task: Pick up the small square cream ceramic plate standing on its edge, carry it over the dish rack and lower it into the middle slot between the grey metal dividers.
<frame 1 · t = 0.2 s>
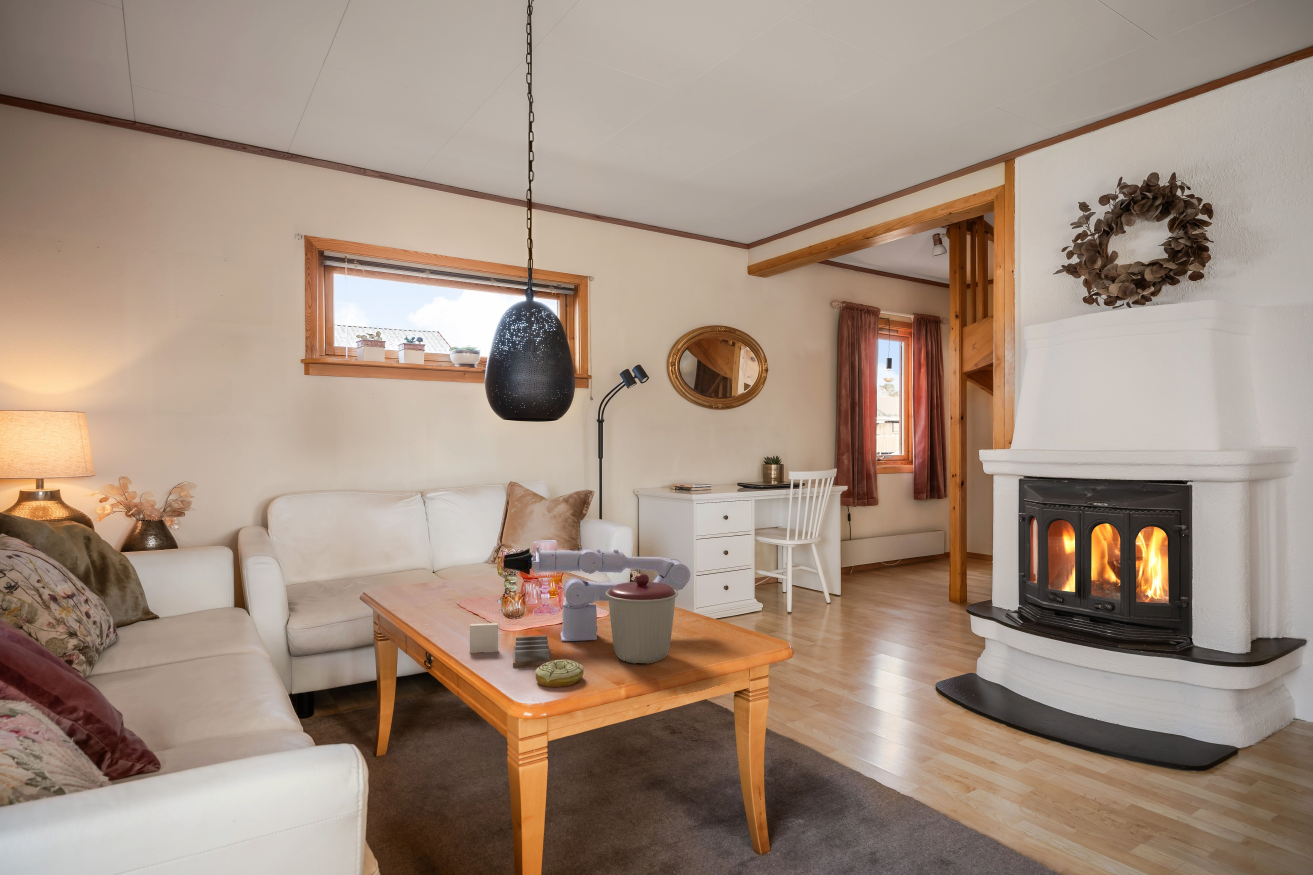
hand: (503, 561, 193), 21 cm above the table, tool horizontal, fingers open, 7 cm apart
decorated donut: (559, 681, 162), on the table
canister: (641, 658, 179), on the table
dish rack: (531, 657, 179), on the table
cream plate: (484, 651, 183), on the table
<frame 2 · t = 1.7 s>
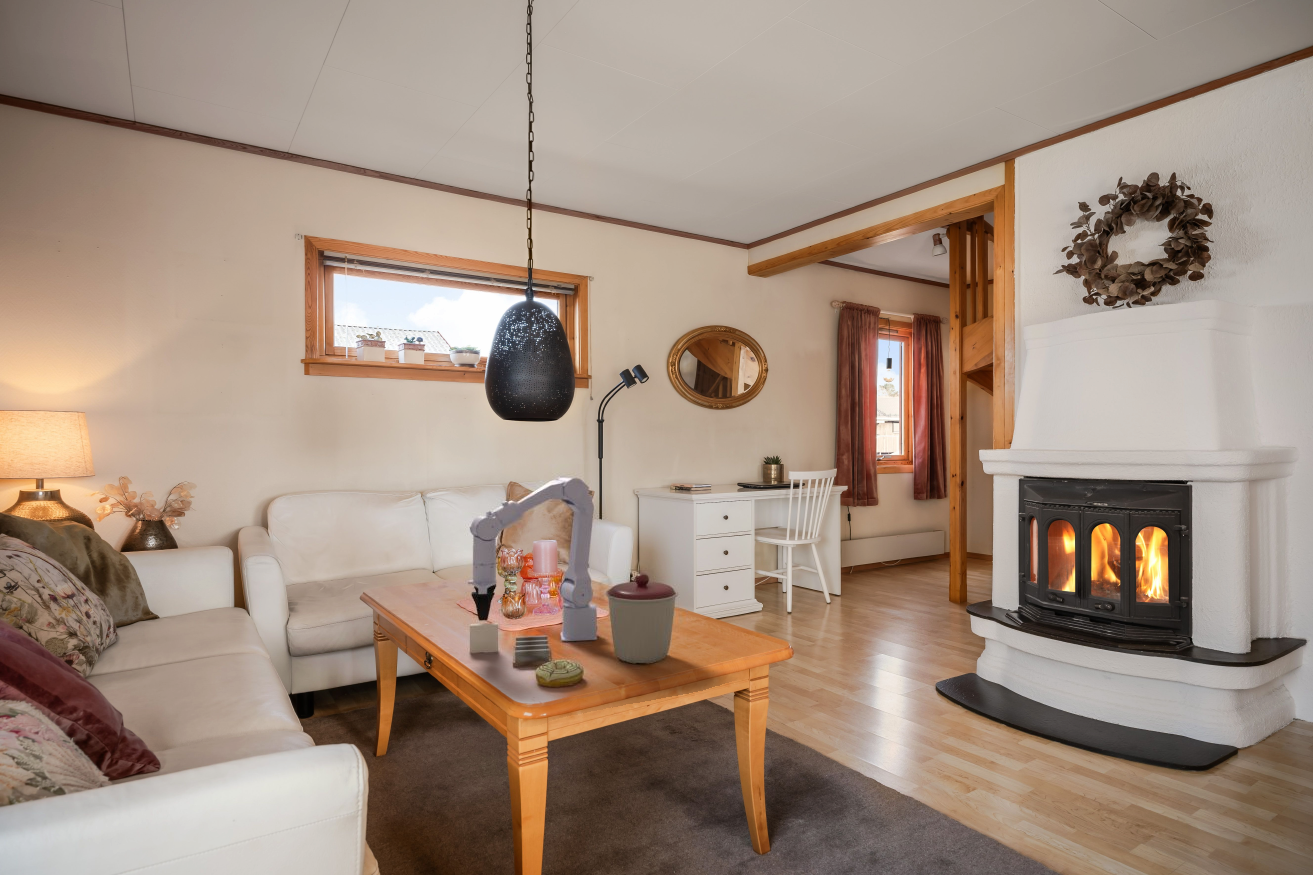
hand: (484, 616, 183), 9 cm above the table, tool pointing down, fingers open, 7 cm apart
nothing on the table moved.
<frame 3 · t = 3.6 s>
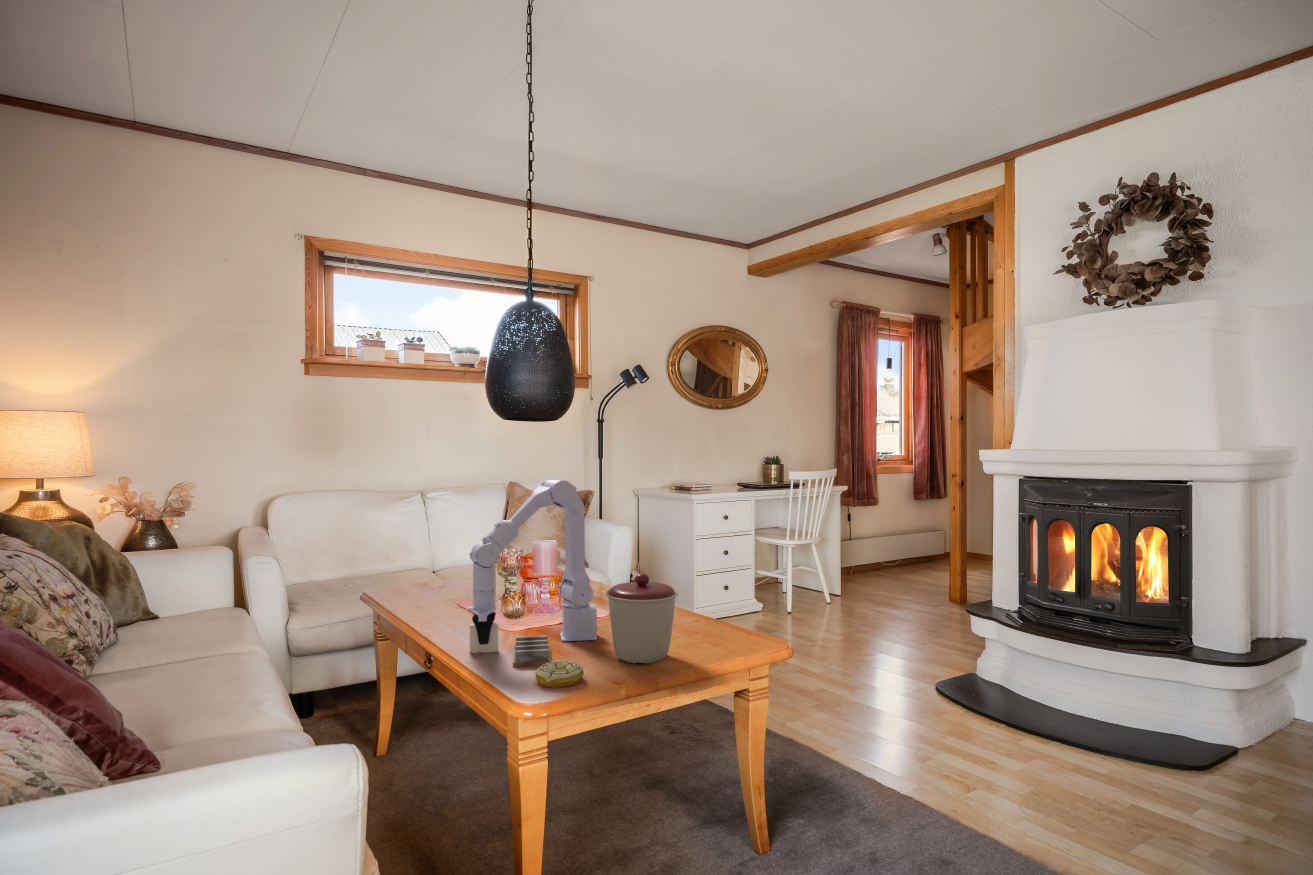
hand: (484, 642, 183), 2 cm above the table, tool pointing down, fingers closed on cream plate, 2 cm apart
cream plate: (484, 651, 183), on the table, touching gripper
everything else where it was.
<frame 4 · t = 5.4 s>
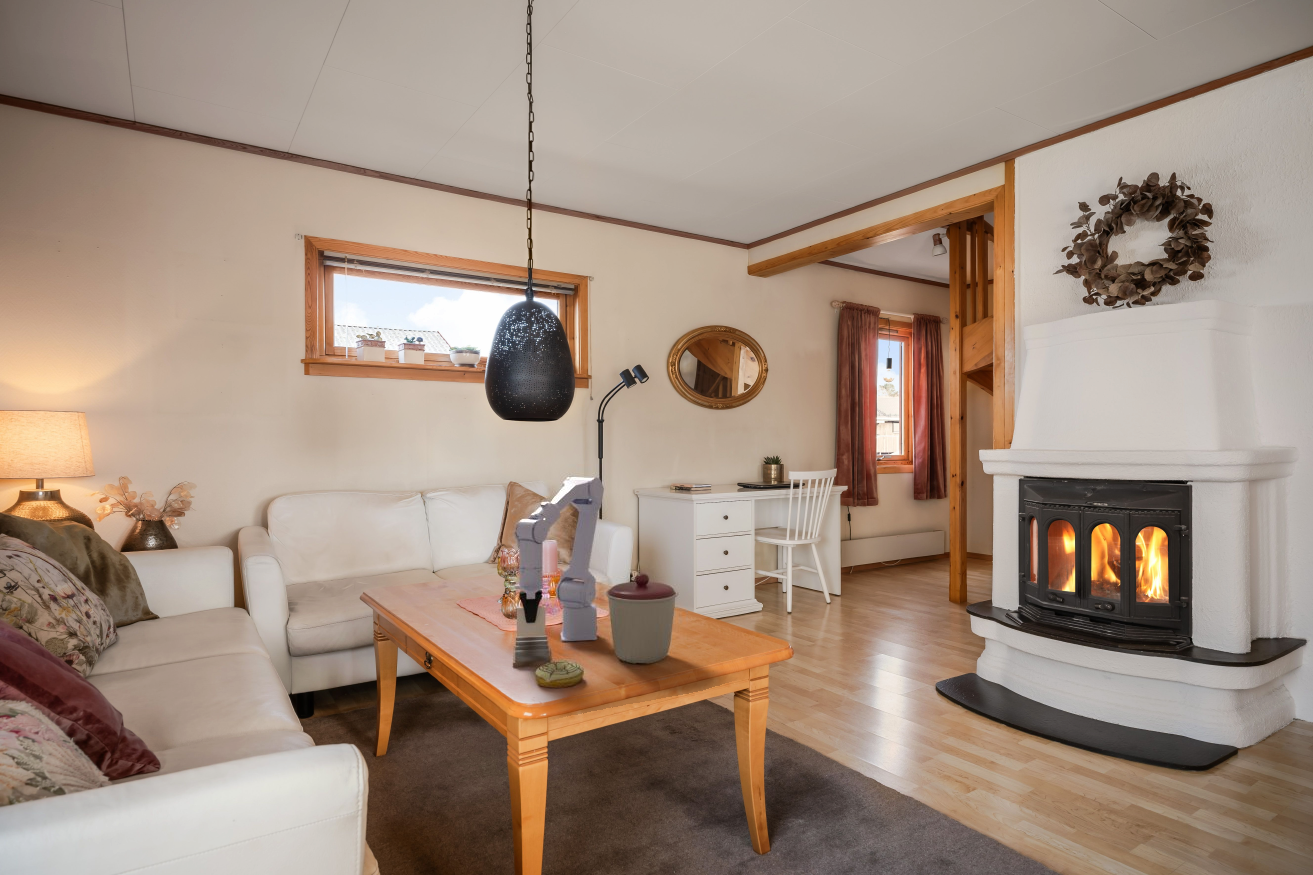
hand: (530, 621, 179), 9 cm above the table, tool pointing down, fingers closed on cream plate
cream plate: (530, 634, 179), point 6 cm above the table, touching gripper
everything else where it was.
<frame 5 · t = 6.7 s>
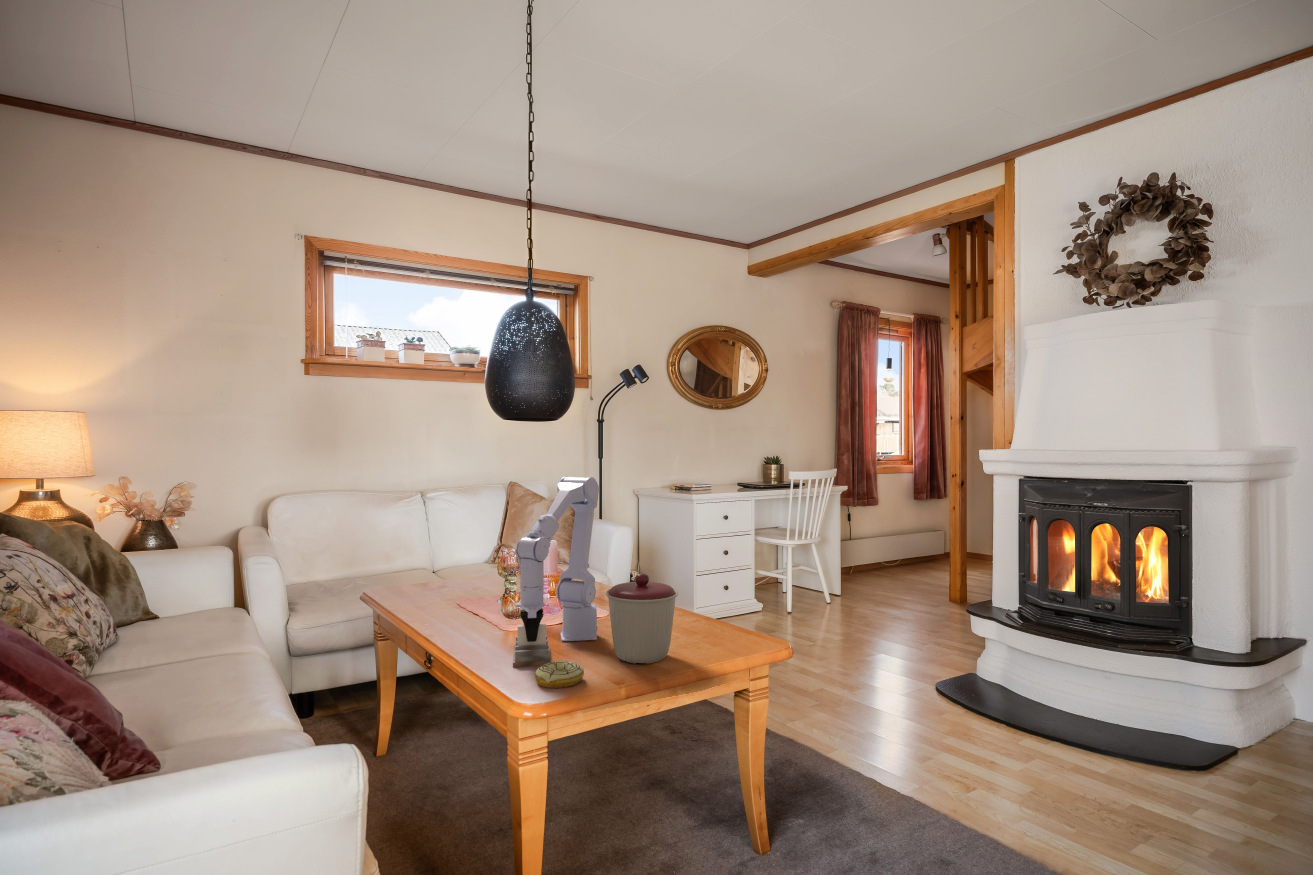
hand: (531, 639, 179), 4 cm above the table, tool pointing down, fingers closed on cream plate, 2 cm apart
cream plate: (531, 653, 179), point 1 cm above the table, touching dish rack, gripper
everything else where it was.
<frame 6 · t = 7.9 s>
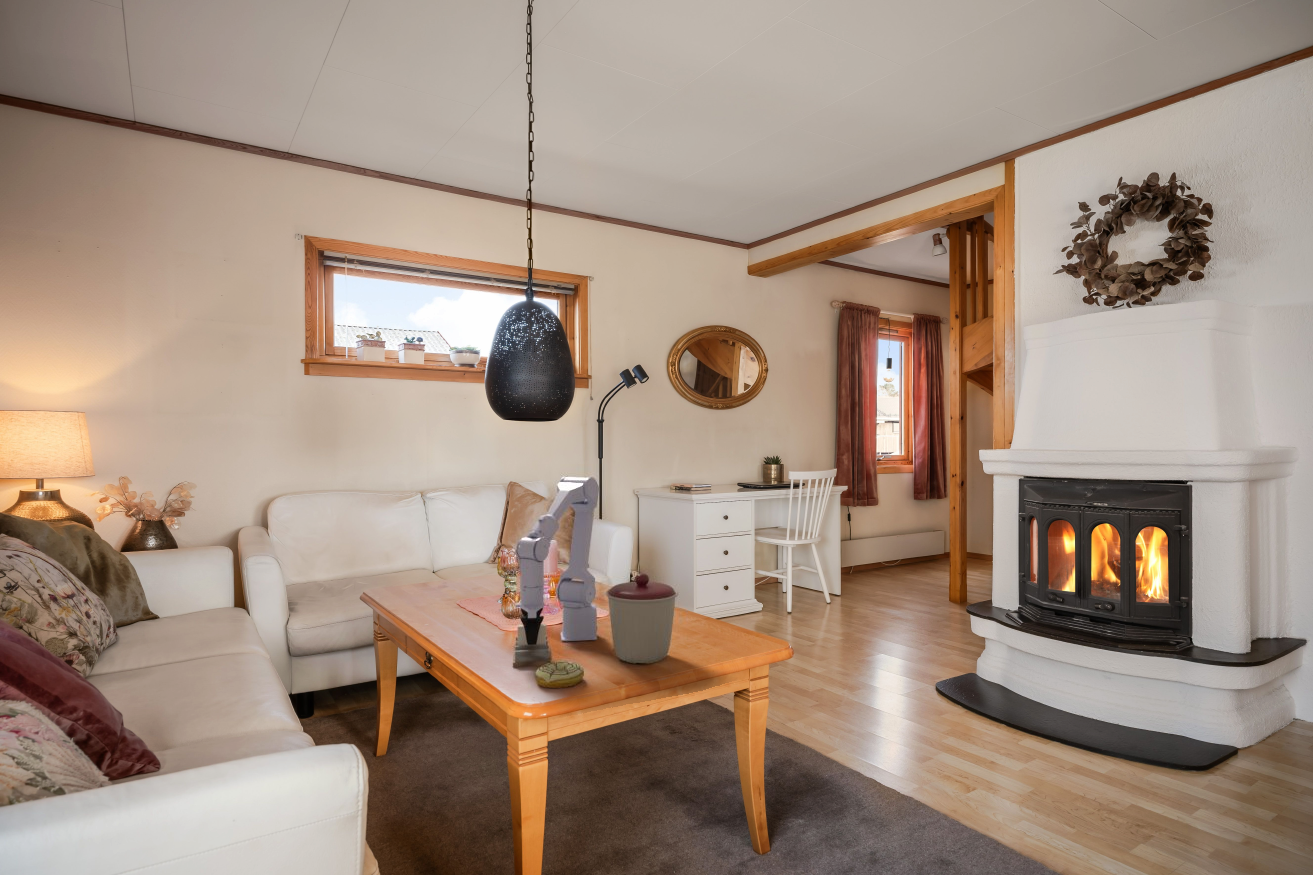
hand: (531, 639, 179), 4 cm above the table, tool pointing down, fingers open, 7 cm apart
cream plate: (531, 653, 179), point 1 cm above the table, touching dish rack
everything else where it was.
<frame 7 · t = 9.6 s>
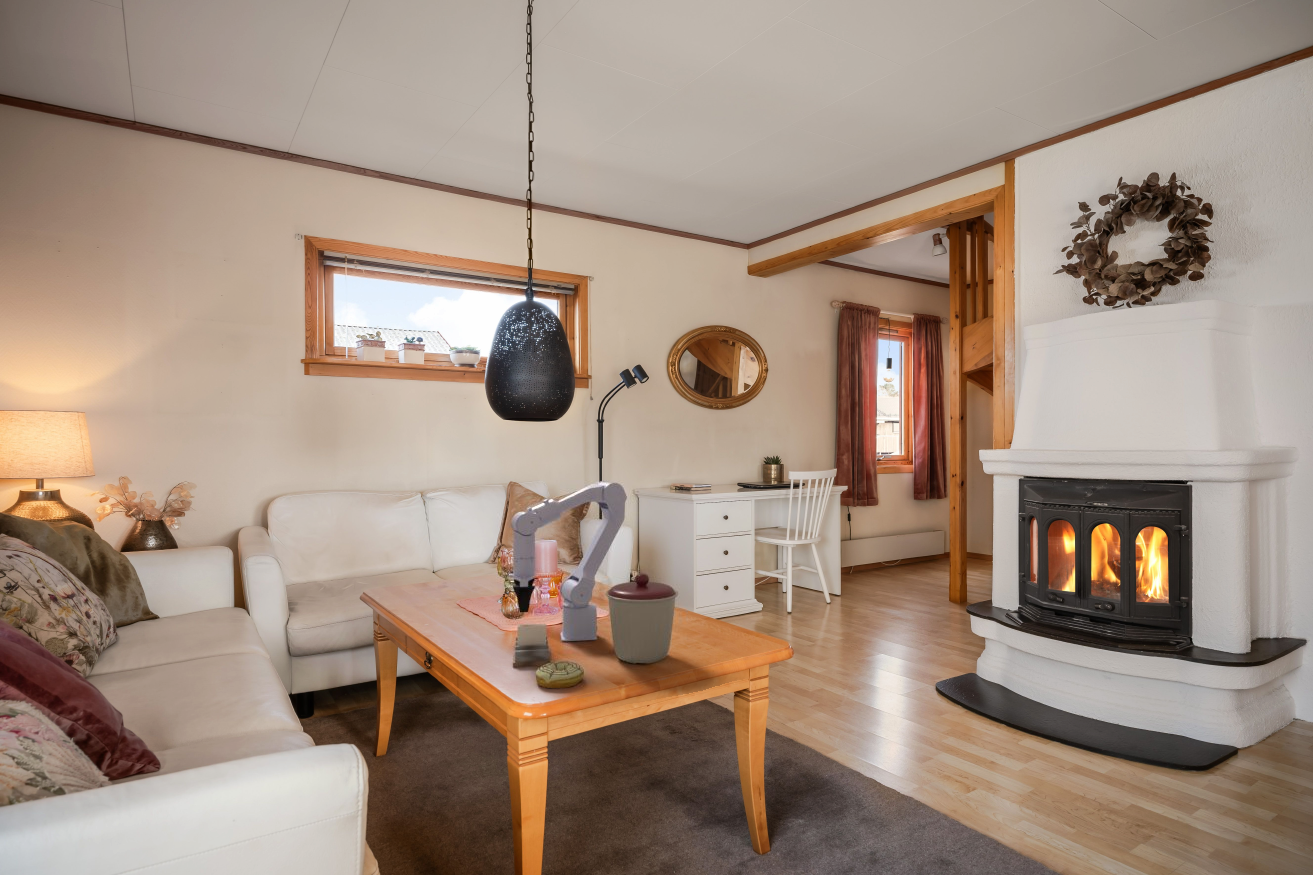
hand: (523, 608, 190), 9 cm above the table, tool pointing down, fingers open, 7 cm apart
nothing on the table moved.
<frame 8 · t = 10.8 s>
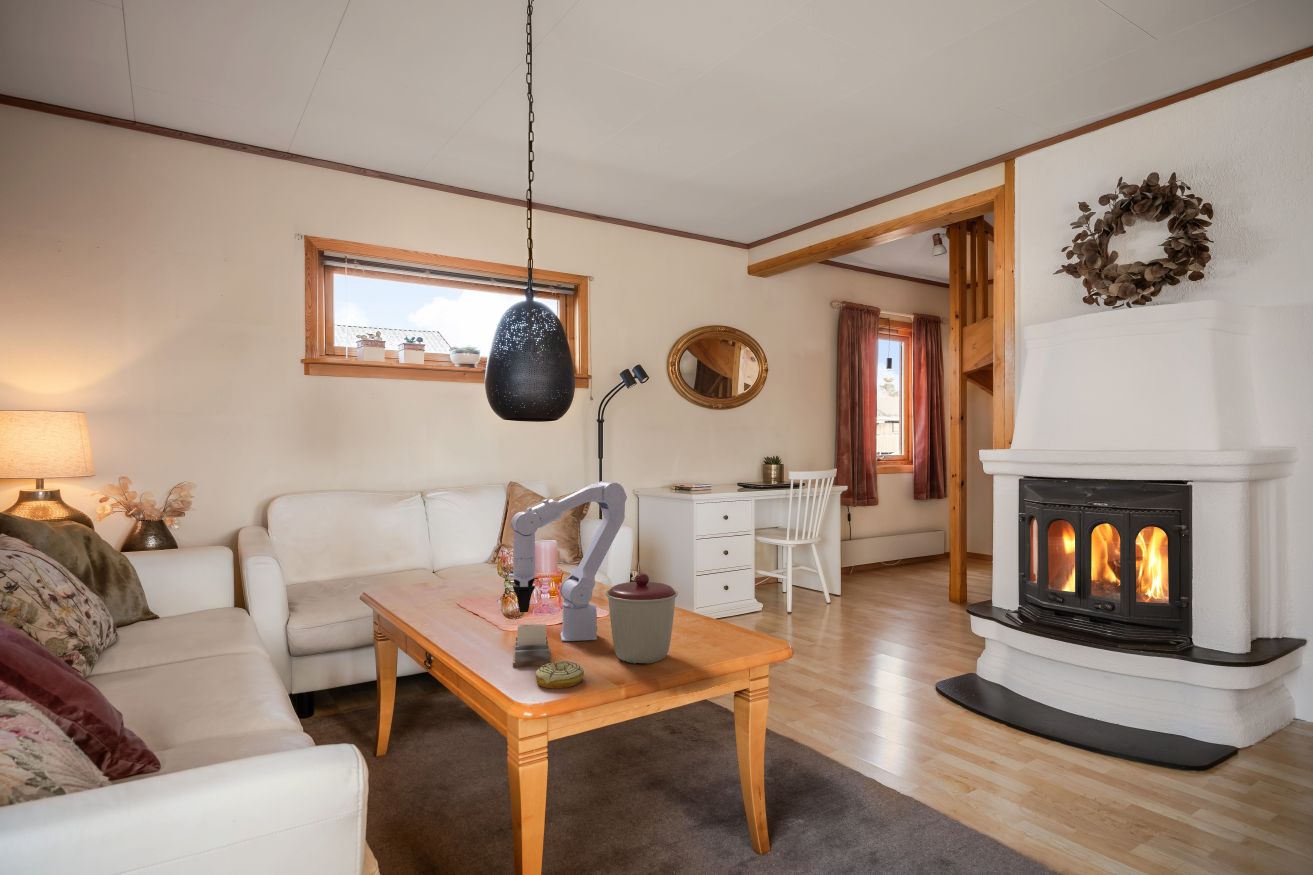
hand: (523, 608, 190), 9 cm above the table, tool pointing down, fingers open, 7 cm apart
nothing on the table moved.
at the end: cream plate 0.0 cm off-centre on the dish rack, point 1.0 cm above the dish rack's base; cream plate tilted 0°; the gripper is holding nothing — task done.
